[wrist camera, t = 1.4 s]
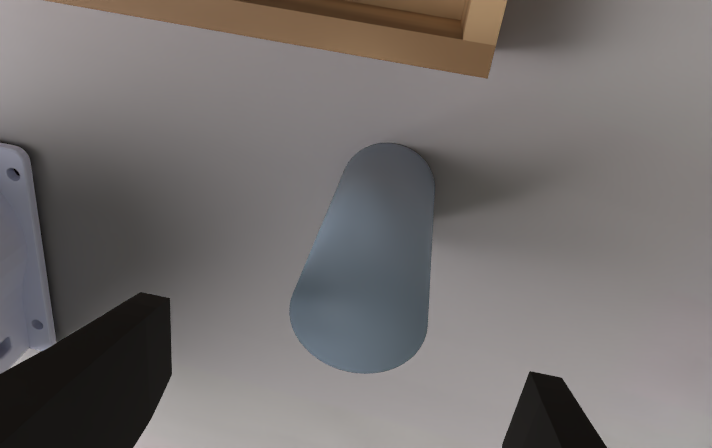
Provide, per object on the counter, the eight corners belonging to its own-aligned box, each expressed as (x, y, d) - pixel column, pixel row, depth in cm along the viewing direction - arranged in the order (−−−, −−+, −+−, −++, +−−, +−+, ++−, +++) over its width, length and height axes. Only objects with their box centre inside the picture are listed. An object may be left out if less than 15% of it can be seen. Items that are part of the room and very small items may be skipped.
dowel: (424, 236, 20) (413, 385, 14) (336, 218, 21) (284, 358, 14) (443, 152, 19) (440, 276, 12) (348, 135, 19) (295, 247, 13)
